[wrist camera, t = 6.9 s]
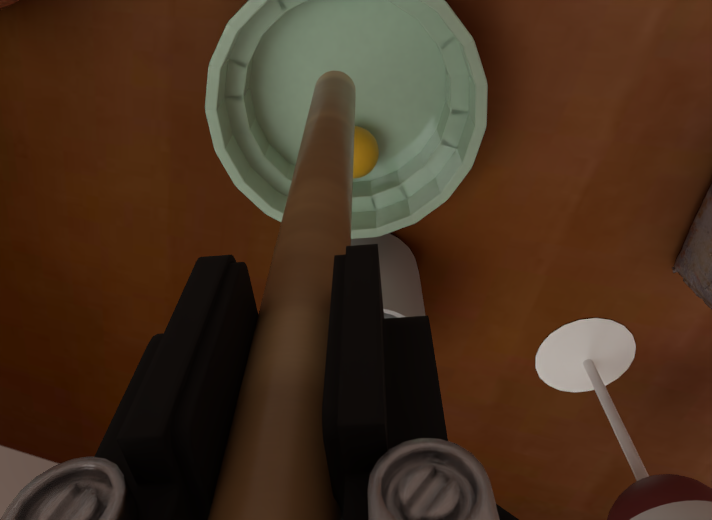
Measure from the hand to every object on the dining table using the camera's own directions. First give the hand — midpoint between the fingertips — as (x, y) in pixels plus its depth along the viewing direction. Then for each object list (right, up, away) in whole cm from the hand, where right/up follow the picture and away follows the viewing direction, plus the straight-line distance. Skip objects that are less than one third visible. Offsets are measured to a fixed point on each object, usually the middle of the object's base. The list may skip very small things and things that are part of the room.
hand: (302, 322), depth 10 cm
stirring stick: (0, +8, +12) cm, 15 cm away
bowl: (0, +11, +23) cm, 26 cm away
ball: (+1, +7, +23) cm, 24 cm away
